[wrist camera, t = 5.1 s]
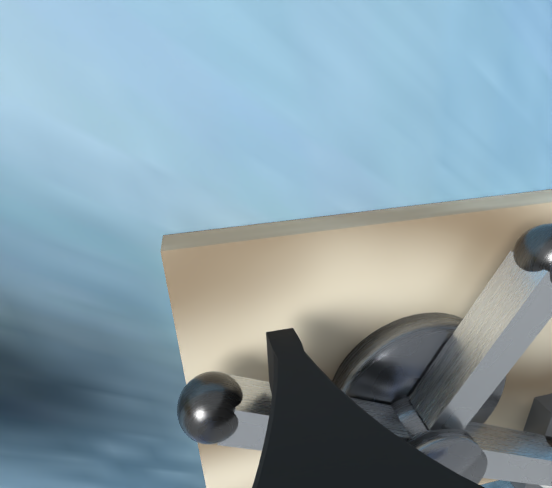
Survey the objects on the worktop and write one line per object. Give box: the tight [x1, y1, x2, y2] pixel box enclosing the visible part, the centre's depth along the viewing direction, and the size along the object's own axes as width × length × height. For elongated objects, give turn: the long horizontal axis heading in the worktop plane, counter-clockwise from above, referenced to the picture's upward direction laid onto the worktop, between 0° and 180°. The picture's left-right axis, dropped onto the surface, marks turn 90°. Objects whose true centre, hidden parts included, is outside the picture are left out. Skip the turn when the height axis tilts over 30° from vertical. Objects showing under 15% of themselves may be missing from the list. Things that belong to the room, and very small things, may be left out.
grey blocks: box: [510, 393, 552, 488], centre depth 19 cm, size 6×2×2 cm, turn 2°
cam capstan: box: [177, 223, 552, 486], centre depth 14 cm, size 18×18×4 cm
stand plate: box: [161, 189, 552, 488], centre depth 16 cm, size 16×18×1 cm
